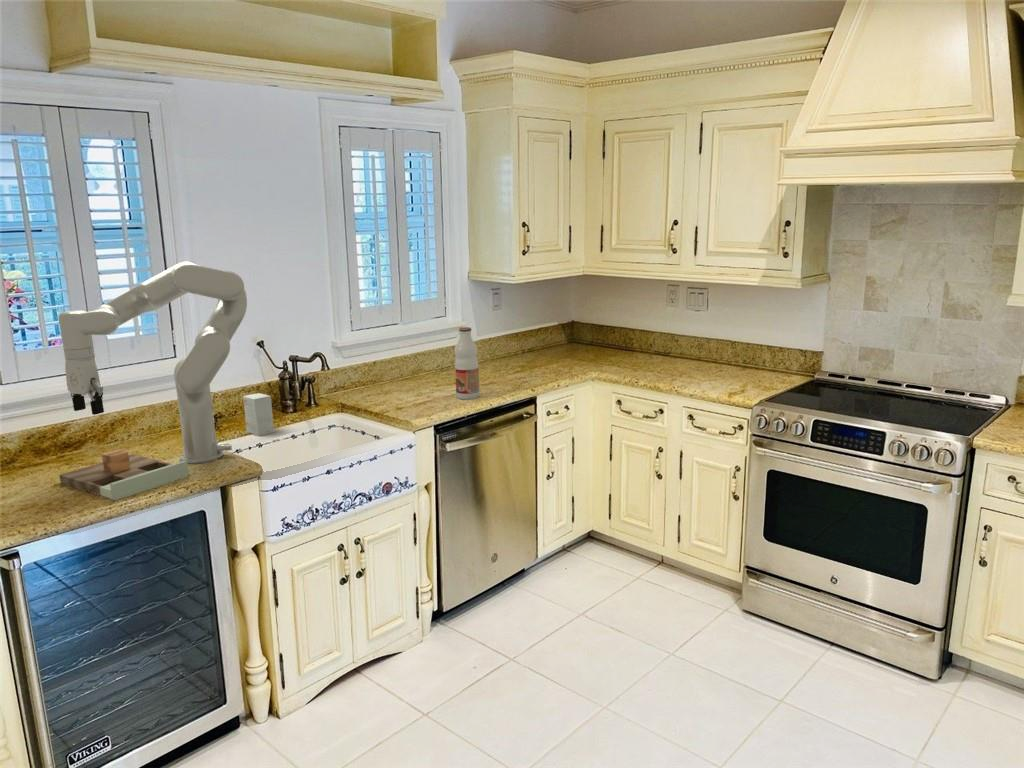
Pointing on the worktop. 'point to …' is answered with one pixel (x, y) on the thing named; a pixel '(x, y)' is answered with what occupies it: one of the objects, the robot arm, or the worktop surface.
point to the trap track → (108, 474)
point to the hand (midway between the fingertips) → (89, 411)
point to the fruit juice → (466, 366)
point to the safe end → (145, 481)
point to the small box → (258, 414)
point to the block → (116, 461)
